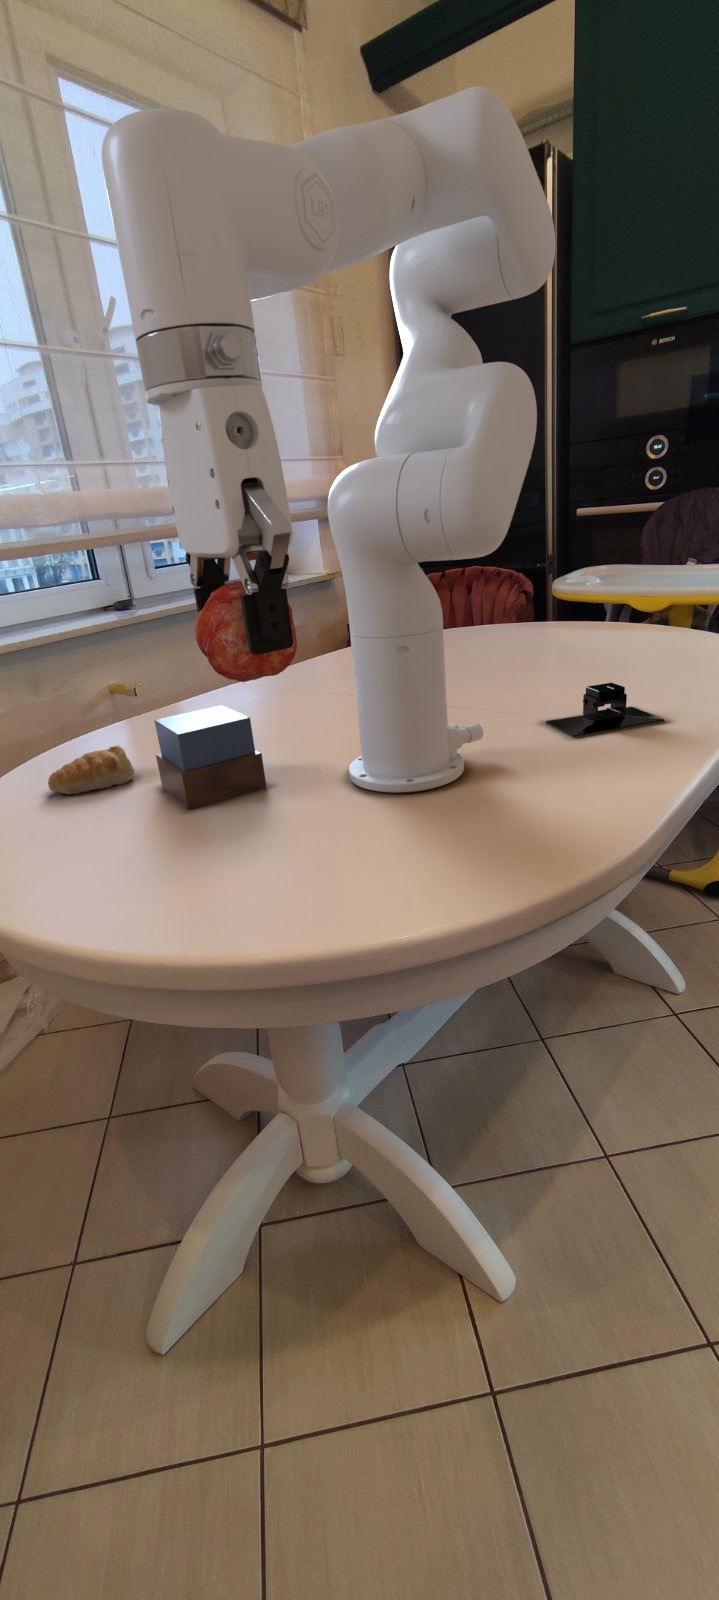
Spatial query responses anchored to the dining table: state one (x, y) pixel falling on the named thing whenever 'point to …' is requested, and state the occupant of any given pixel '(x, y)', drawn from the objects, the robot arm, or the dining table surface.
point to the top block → (205, 737)
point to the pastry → (92, 772)
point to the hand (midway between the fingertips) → (246, 642)
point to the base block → (212, 779)
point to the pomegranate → (235, 638)
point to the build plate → (604, 713)
